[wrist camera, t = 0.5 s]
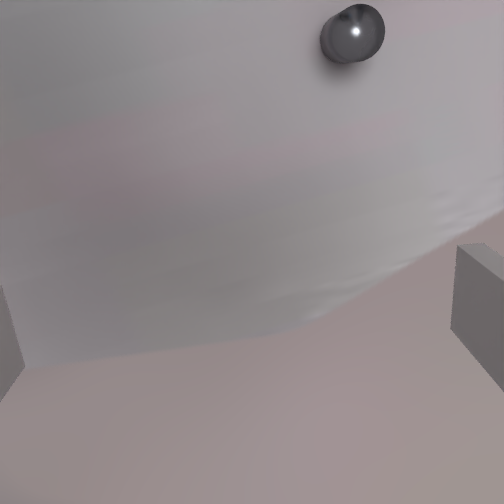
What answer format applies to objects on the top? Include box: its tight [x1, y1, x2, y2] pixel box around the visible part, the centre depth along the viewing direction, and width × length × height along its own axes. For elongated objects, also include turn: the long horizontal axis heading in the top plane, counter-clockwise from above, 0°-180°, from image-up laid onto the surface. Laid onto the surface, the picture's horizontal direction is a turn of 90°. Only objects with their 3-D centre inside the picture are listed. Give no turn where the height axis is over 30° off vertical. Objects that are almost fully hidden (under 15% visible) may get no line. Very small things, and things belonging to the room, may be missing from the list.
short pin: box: [320, 4, 385, 63], centre depth 34 cm, size 4×4×5 cm
